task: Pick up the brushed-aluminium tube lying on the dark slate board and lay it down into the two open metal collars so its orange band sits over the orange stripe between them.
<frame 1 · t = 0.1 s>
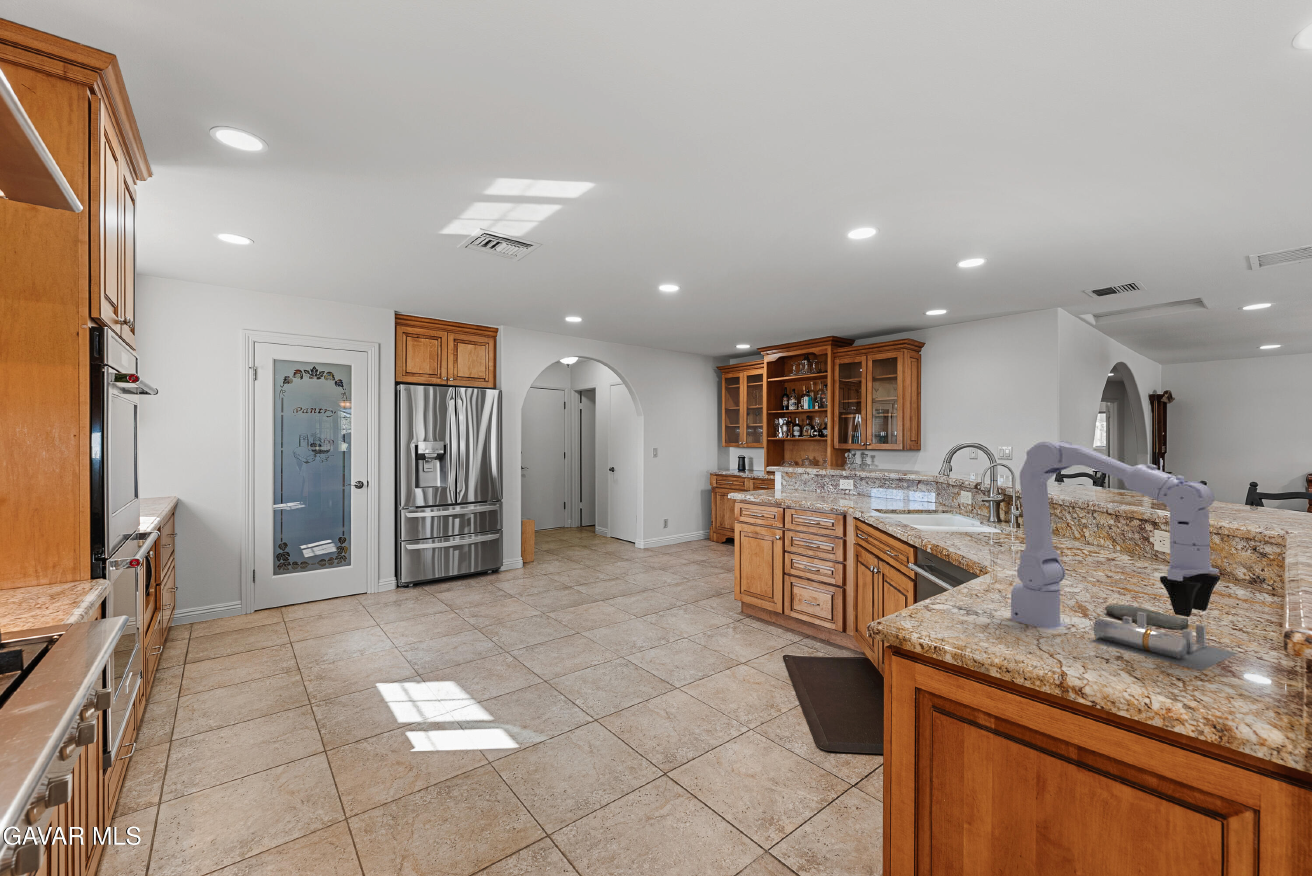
hand: (1190, 612, 109), 10 cm above the counter, tool pointing down, fingers open, 7 cm apart
board: (1161, 649, 116), on the counter
stone: (1145, 624, 134), on the counter
collar a: (1134, 635, 123), resting on board
collar b: (1194, 649, 114), resting on board
tube: (1138, 648, 115), point 1 cm above the counter, touching board
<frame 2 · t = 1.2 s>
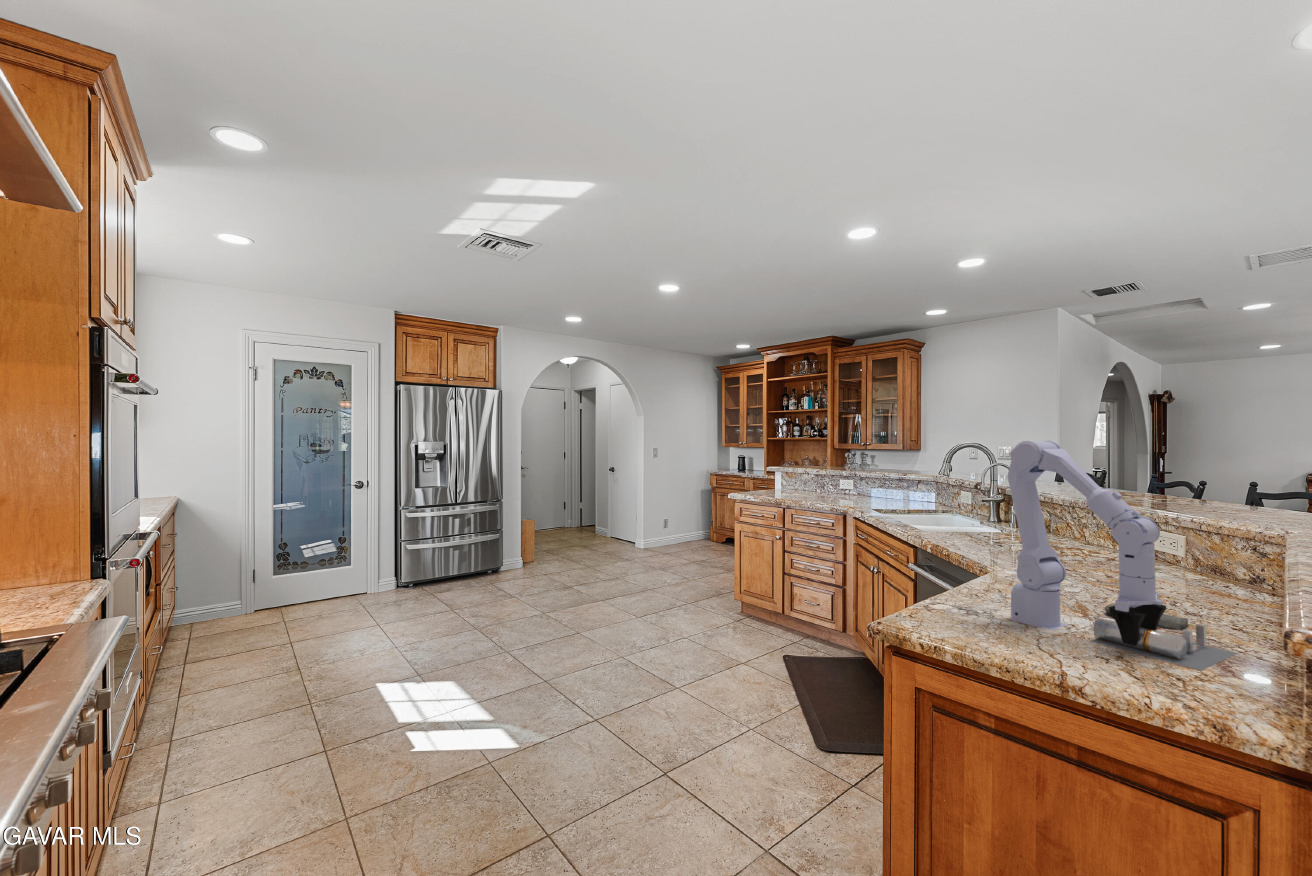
hand: (1138, 640, 115), 2 cm above the counter, tool pointing down, fingers open, 7 cm apart
nothing on the counter moved.
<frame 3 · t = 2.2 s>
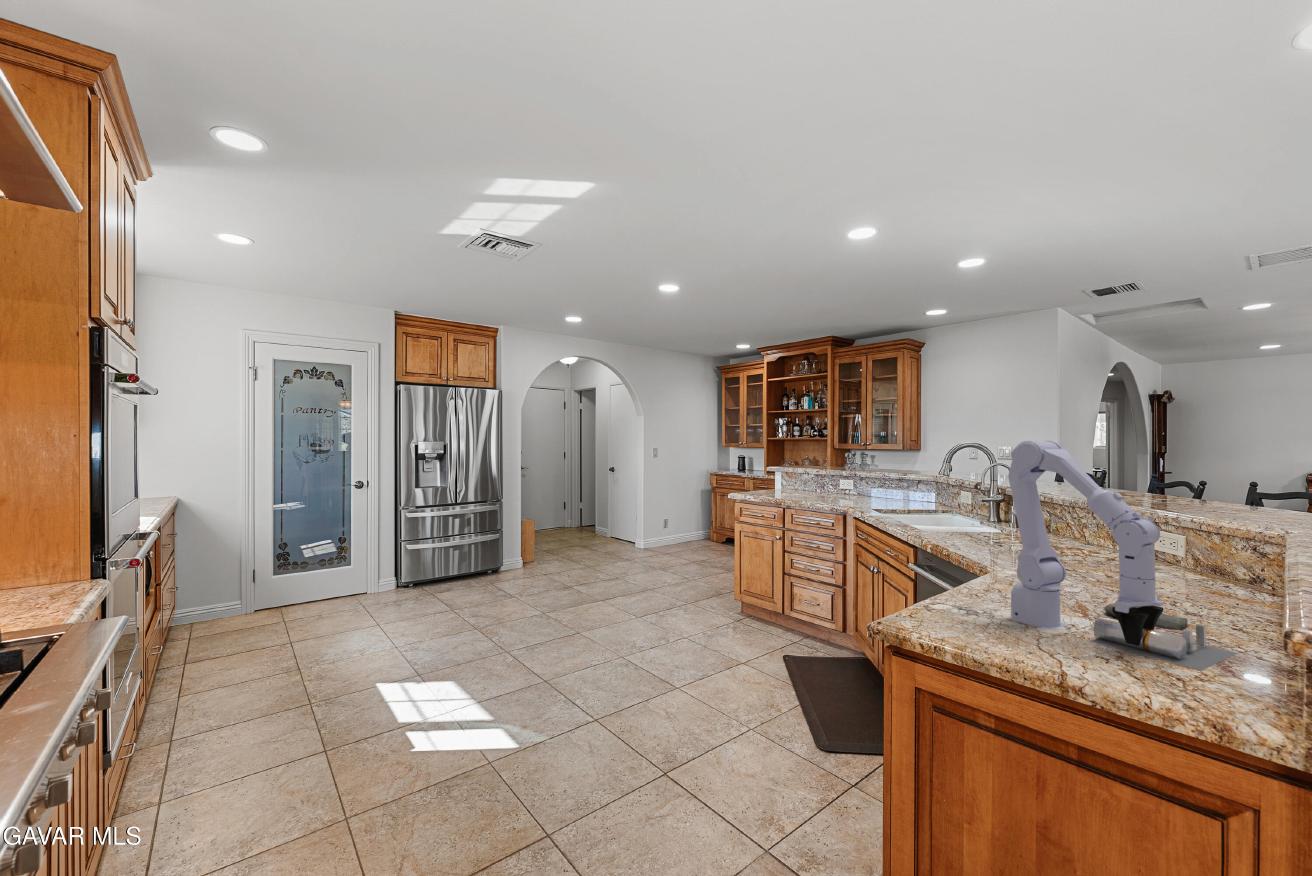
hand: (1138, 641, 115), 2 cm above the counter, tool pointing down, fingers closed on tube, 4 cm apart
tube: (1138, 648, 115), point 1 cm above the counter, touching board, gripper
everything else where it was.
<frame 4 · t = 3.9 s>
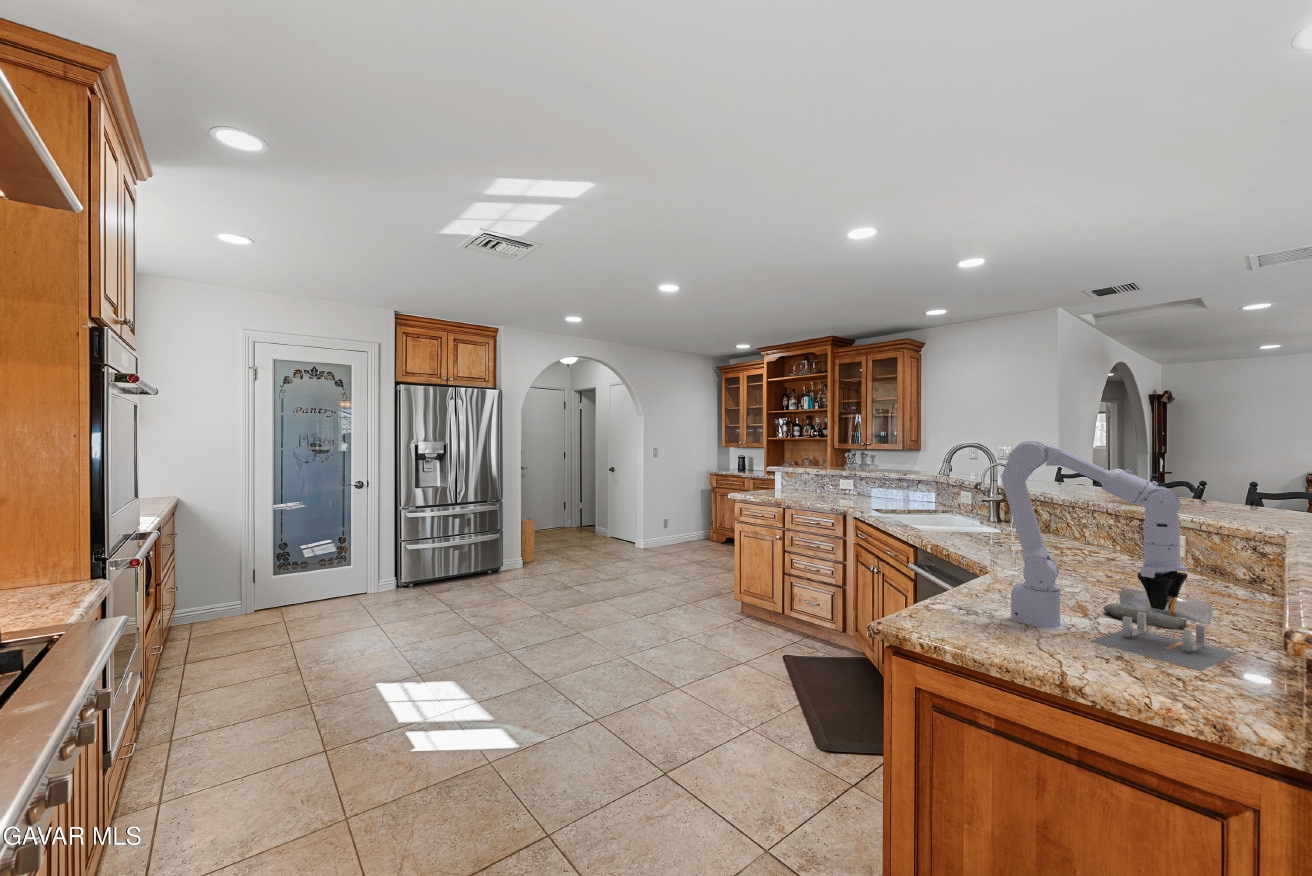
hand: (1163, 607, 119), 8 cm above the counter, tool pointing down, fingers closed on tube, 4 cm apart
tube: (1163, 615, 119), point 6 cm above the counter, touching gripper
everything else where it was.
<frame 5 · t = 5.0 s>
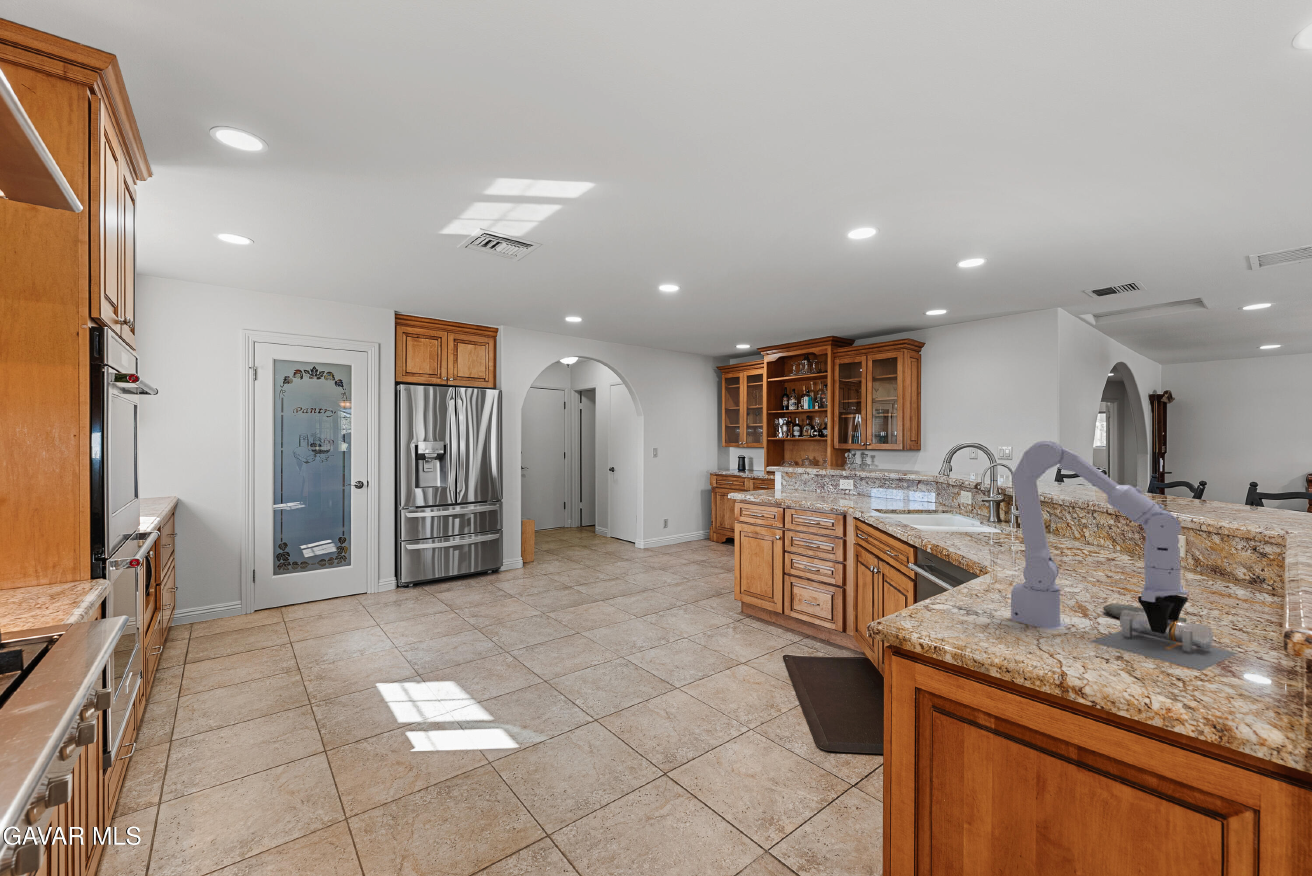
hand: (1163, 630, 119), 3 cm above the counter, tool pointing down, fingers closed on tube, 4 cm apart
tube: (1164, 638, 119), point 1 cm above the counter, touching gripper
everything else where it was.
when the fingers open (3 cm above the counter, at t = 5.6 s): tube stays where it is, resting on collar a, collar b.
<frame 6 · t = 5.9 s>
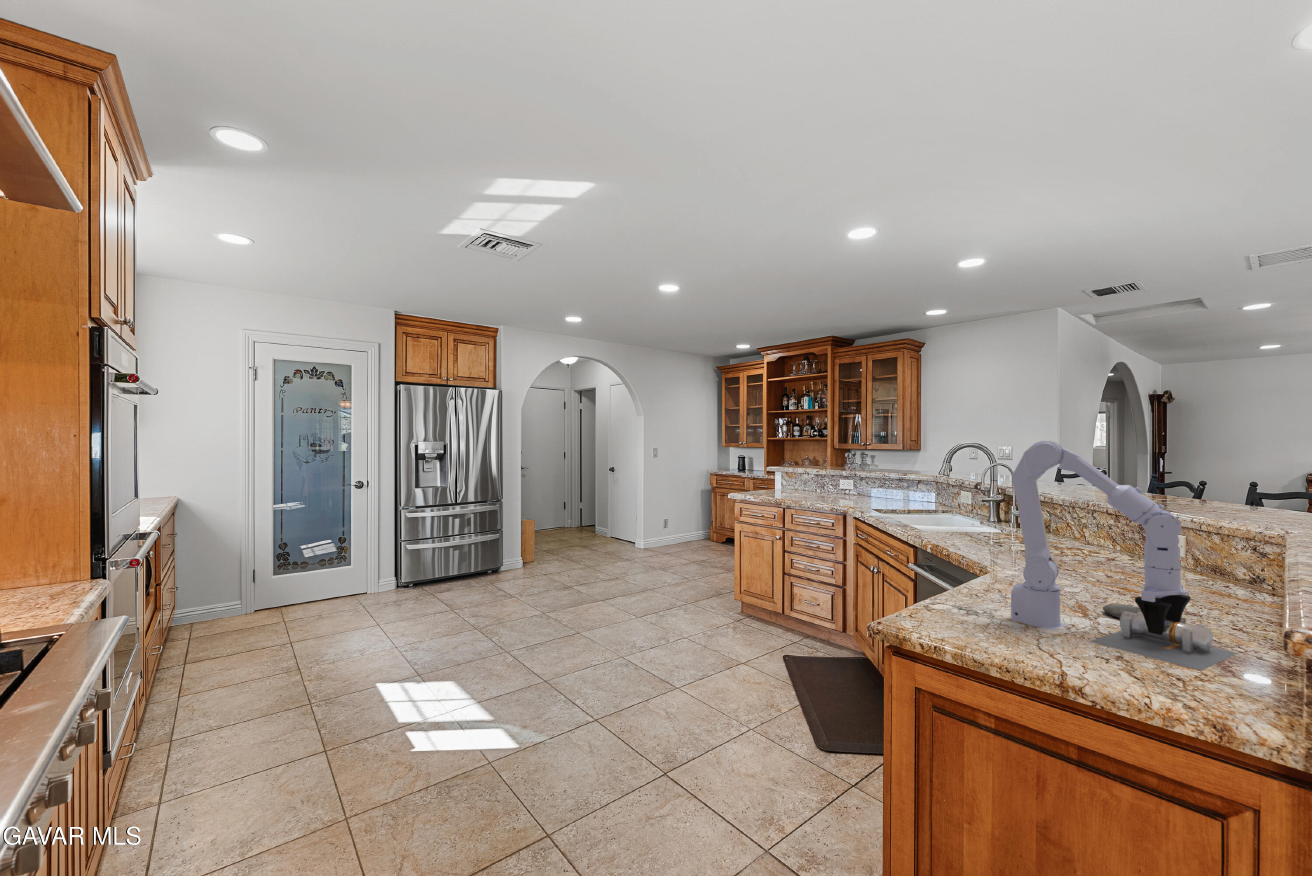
hand: (1163, 630, 119), 3 cm above the counter, tool pointing down, fingers open, 7 cm apart
tube: (1164, 640, 119), point 1 cm above the counter, touching collar a, collar b
everything else where it was.
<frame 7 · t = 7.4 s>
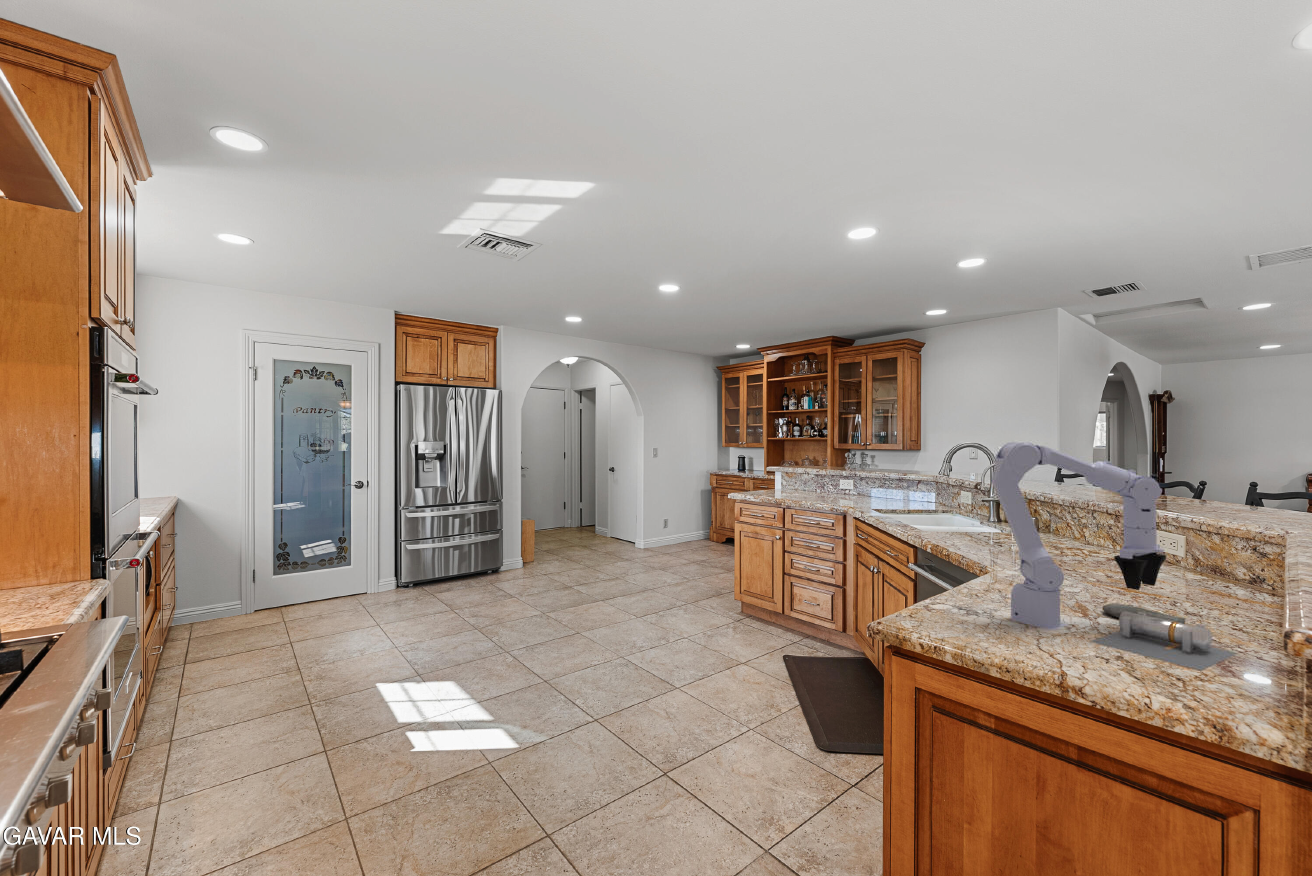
hand: (1140, 586, 127), 10 cm above the counter, tool pointing down, fingers open, 7 cm apart
nothing on the counter moved.
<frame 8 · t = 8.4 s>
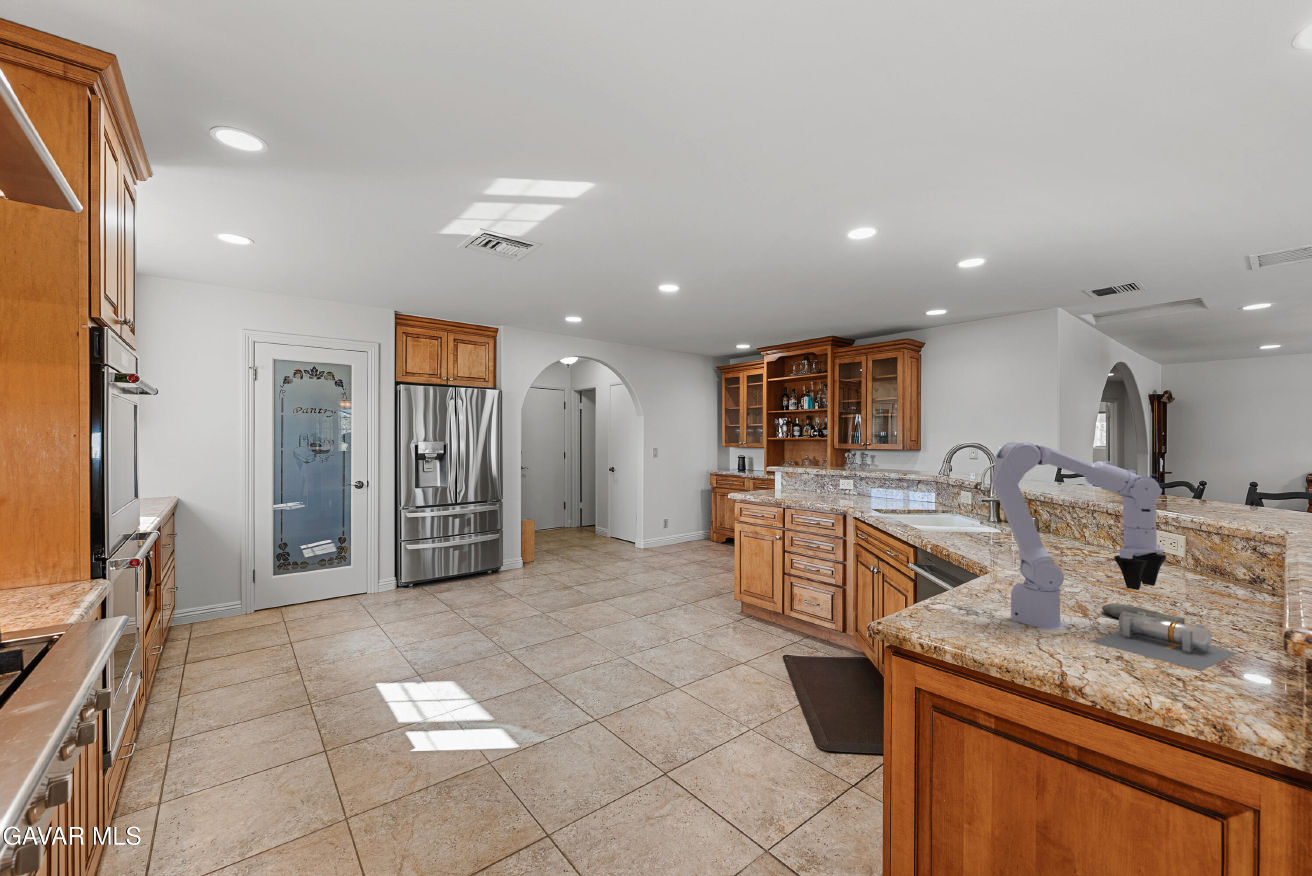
hand: (1140, 586, 127), 10 cm above the counter, tool pointing down, fingers open, 7 cm apart
tube: (1164, 640, 119), point 1 cm above the counter, tilted 12°, touching collar a, collar b
everything else where it was.
at the end: tube 0.2 cm from the target spot, point 1.1 cm above the counter; the gripper is holding nothing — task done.
